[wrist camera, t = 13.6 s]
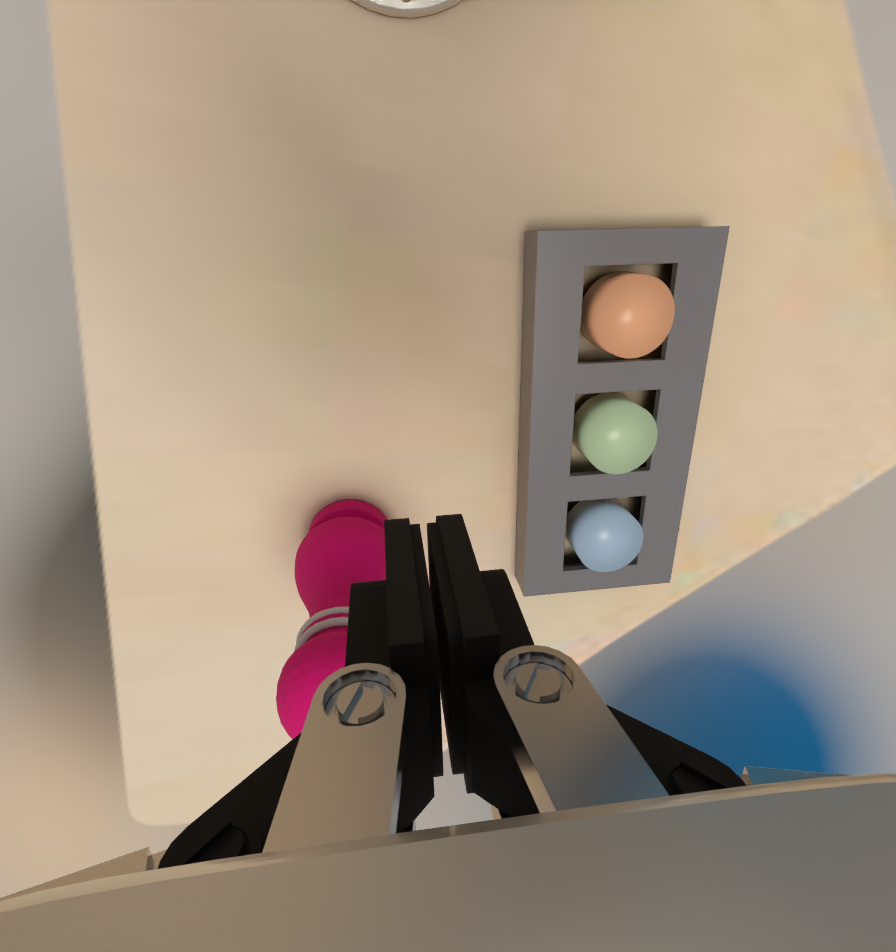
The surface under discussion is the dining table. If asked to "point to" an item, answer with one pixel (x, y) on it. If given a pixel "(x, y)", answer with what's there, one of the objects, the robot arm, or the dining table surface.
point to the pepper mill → (328, 599)
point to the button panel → (561, 377)
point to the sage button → (614, 433)
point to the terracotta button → (627, 313)
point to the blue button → (603, 534)
